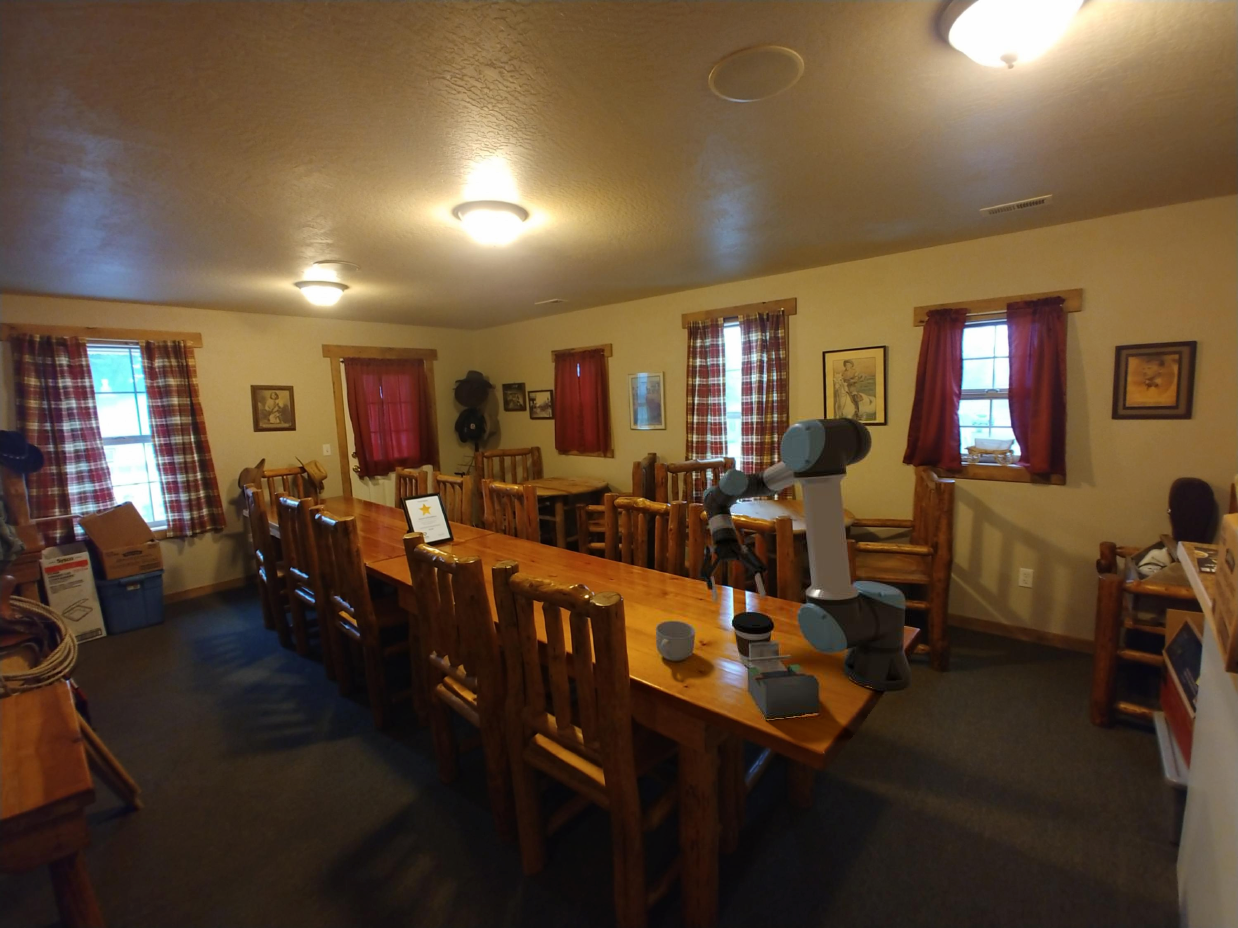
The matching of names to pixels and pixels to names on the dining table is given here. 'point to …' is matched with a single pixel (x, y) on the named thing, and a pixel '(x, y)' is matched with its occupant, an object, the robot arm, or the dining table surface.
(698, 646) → the dining table surface
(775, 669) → the grey bracket with plate
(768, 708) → the grey box
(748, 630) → the coffee cup
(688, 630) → the teacup
